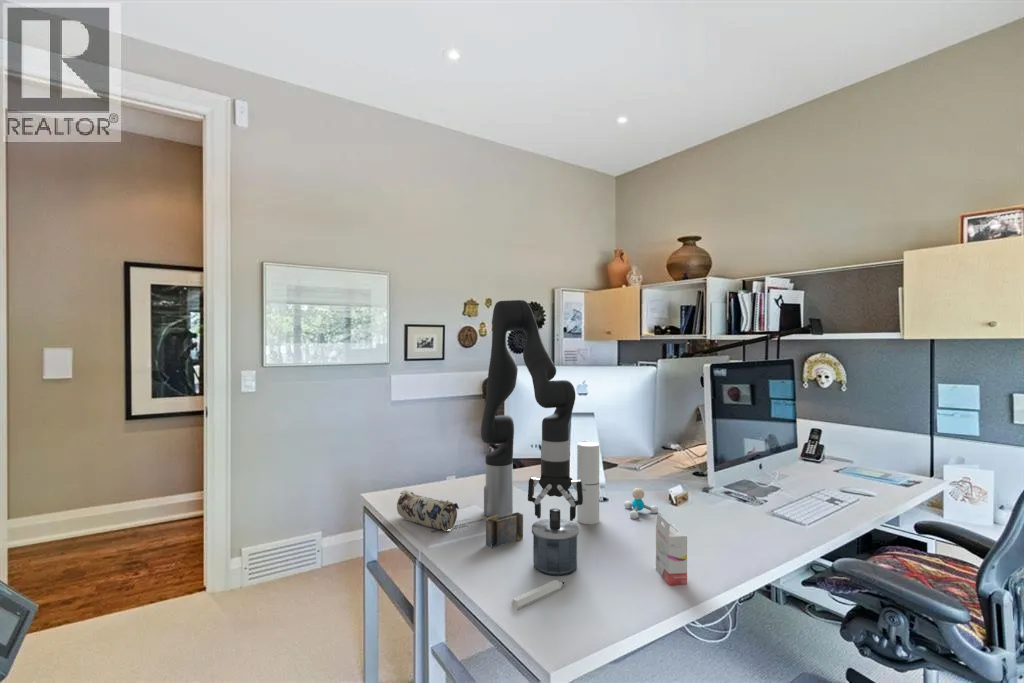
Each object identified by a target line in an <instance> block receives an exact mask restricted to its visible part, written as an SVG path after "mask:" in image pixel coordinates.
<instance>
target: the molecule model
mask: <svg viewBox="0 0 1024 683" xmlns="http://www.w3.org/2000/svg"><path fill="white" fill-rule="evenodd" d="M631 494H632V495H631V496H632V497H633V498H634V499H633V500H632V501H630V500H626V501H624V504H623V506H624V508H625V509H628V510H629V509H631V508H633V510H631V511H630V513H629V516H630V518H631V519H633V520H637V519H638V517H639V511H642V510H644V509H646V510H649V511H650V513H651V514H658V513H659V507H658V506H657V505H655V504H654V505H650V506H648V505H646V504H645V502H644V500H642V499H643V498H644V497H645V491H644V490H643V489H642V488H641V487H635V488H634V489H633V490H632V492H631Z"/></svg>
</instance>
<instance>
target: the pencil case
mask: <svg viewBox="0 0 1024 683" xmlns="http://www.w3.org/2000/svg"><path fill="white" fill-rule="evenodd" d="M399 494H400V496H399V498H398V499H397V501H396V510H397V514H398V515H399V516H401V517H402V518H403V519H404V520H405V521H409V522H413V523H415V522H416V523H415V524H418V523H419V525H421V524H422V526H425V525H426V526H425V527H428V526H430V527H429V528H433V529H436V528H437V529H438V530H440V529H442V530H441V531H444V532H446V531H447V530H448V529H451V528H452V527H453V528H454V525H455V524H456V522H457V518H458V510H459V509H460V507H459V505H458V503H456V502H454V503H453V502H452V501H449V500H444V499H443V498H442V499H440V500H439V499H436V498H432V497H429V496H425V495H424V496H423V495H418V494H415V493H414V492H413V491H410V490H408V489H403V490H402V491H401V492H400V493H399ZM437 529H436V530H437Z"/></svg>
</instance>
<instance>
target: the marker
mask: <svg viewBox="0 0 1024 683" xmlns="http://www.w3.org/2000/svg"><path fill="white" fill-rule="evenodd" d="M565 584H566V582H565V581H558V580H556V579H554V580H552V581H550V582H548V583H546V584H544V585H541V586H539V587H536V588H534V589H532V590H530V591H527V592H526V593H522V594H521V595H518V596H516V597H515V598H512V600H511V606H512V607H513V608H514V609H516V610H517V611H518V610H519V609H522V608H524V607H526V606H527V605H531V604H532V603H535V602H537V601H539V600H541V599H543V598H545V597H547V596H550V595H552V594H554V593H556V592H558V591H561V589H562V587H563V586H564V585H565Z"/></svg>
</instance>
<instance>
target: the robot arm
mask: <svg viewBox="0 0 1024 683" xmlns="http://www.w3.org/2000/svg"><path fill="white" fill-rule="evenodd" d="M491 323H492V328H491V332H492V333H491V350H490V357H489V358H490V359H489V366H488V371H487V384H486V397H485V404H484V410H483V415H482V419H481V426H480V437H481V440H482V442H484V443H485V444H500V446H499V447H497V448H496V449H494V450H492V451H490V452H488V453H487V454H486V455H485V485H484V486H483V516H488V517H491V516H496V515H497V514H498V517H500V516H504V515H508V514H512V513H514V512H513V511H514V510H513V508H514V506H513V503H514V502H513V501H514V500H513V496H514V495H513V492H514V489H513V488H514V484H513V481H514V480H513V479H514V478H513V477H514V476H513V473H514V472H513V471H514V470H513V468H514V465H513V460H514V459H513V458H514V438H515V437H514V435H515V424H514V420H513V418H512V416H511V415H504V414H503V415H497V413H498V411H499V409H500V407H501V406H502V404H504V402H505V401H507V399H508V398H509V396H510V395H512V393H513V392H514V390H515V388H516V385H517V378H518V372H519V371H518V369H519V368H518V364H517V362H516V360H515V358H514V357H513V355H512V353H511V351H510V350H509V347H508V345H507V332H513V331H523V332H524V334H525V337H526V338H525V342H524V347H523V350H522V356H523V362H524V364H525V367H526V368H527V370H528V372H529V374H530V376H531V380H532V386H533V391H534V398H535V401H536V403H537V404H538V405H539V406H540V407H542V408H543V409H551V408H552V409H553V408H554V409H555V410H554V412H553V414H551V415H548V416H546V417H544V418H543V419H542V420H541V443H540V444H541V445H540V478H537V477H535V476H533V475H532V476H530V478H529V479H528V486H527V487H528V488H527V491H528V492H527V501H528V502H532V503H533V504H534V516H536V518H537V519H541V517H542V502H541V501H542V500H543V499H544V498H545V496H546V495H547V496H548V497H557V498H561V497H564V499H565V500H566V501H567V502H568V504H569V521H570V522H574V520H575V518H577V516H576V515H577V505H582V503H583V491H582V480H581V479H578V480H577V479H576V480H575V479H573V480H572V479H571V477H570V476H571V475H570V473H571V470H570V469H571V467H570V465H571V463H570V462H571V461H570V460H571V459H570V458H571V450H570V449H571V448H570V440H569V438H570V433H569V432H570V430H569V429H570V428H569V426H570V420H571V417H572V413H573V409H574V406H575V402H576V389H575V387H574V384H573V383H571V381H570V380H567V379H566V380H565V379H561V380H559V379H558V380H553V379H554V378H555V377H556V374H557V367H556V366H555V364H554V362H553V360H552V357H550V354H549V352H548V351H547V349H546V347H545V345H544V342H543V339H542V336H541V333H540V330H539V327H538V324H537V321H536V318H535V315H534V313H533V310H532V308H531V306H530V304H529V303H528V302H527V301H526V300H523V299H513V300H511V299H510V300H499V301H497V302H496V303H495V304H494V306H493V312H492V322H491ZM538 484H539V485H540V486H541V489H542V490H541V491H540V492H539V494H538V495H537V496H536V495H534V494H535V487H537V485H538ZM572 486H573V488H574V489H575V490H576V494H577V495H576V496H577V497H576V498H574V496H573V495H572V493H571V491H570V490H569V489H570V488H571V487H572ZM577 498H578V499H577Z"/></svg>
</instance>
